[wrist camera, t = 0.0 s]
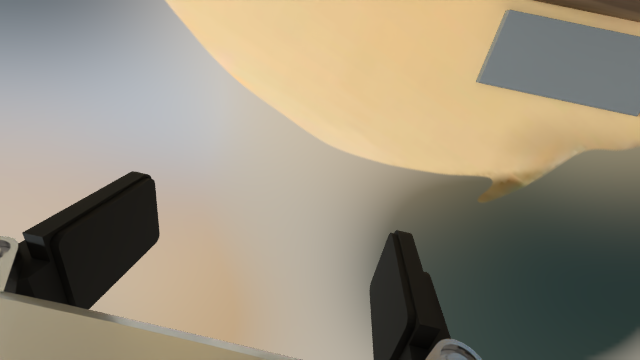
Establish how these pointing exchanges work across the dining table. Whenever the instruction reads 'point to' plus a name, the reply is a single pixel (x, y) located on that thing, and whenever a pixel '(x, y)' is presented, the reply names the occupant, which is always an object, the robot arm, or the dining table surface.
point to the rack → (604, 7)
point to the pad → (565, 62)
